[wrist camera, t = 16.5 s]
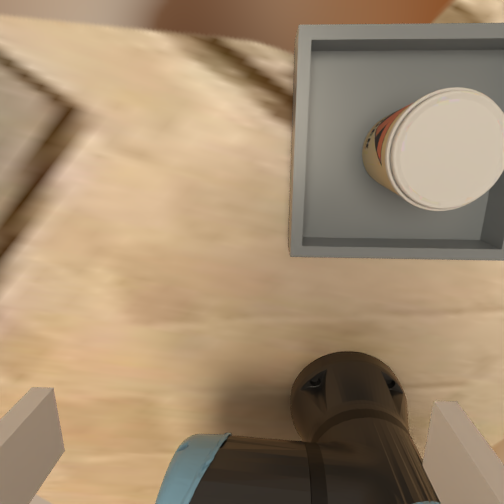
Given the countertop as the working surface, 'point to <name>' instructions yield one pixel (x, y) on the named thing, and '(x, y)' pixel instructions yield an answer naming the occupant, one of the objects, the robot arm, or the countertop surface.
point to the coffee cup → (438, 149)
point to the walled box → (360, 123)
